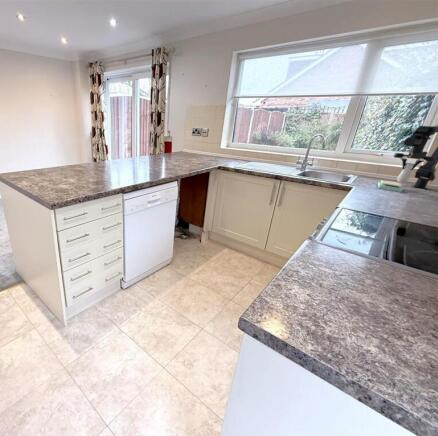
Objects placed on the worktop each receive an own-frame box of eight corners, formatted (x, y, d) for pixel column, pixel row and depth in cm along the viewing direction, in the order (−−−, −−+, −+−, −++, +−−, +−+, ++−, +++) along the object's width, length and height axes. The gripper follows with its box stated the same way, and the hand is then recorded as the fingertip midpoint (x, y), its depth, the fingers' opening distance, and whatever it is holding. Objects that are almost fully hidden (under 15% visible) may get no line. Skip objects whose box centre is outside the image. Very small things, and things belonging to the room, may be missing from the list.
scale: (377, 184, 182) (379, 180, 180) (399, 187, 175) (401, 183, 174) (378, 188, 171) (380, 184, 170) (401, 192, 165) (404, 187, 163)
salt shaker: (409, 183, 168) (418, 164, 163) (399, 182, 169) (408, 163, 164) (403, 181, 174) (412, 162, 168) (393, 180, 175) (402, 162, 169)
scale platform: (380, 181, 180) (381, 180, 179) (399, 184, 174) (399, 182, 174) (381, 184, 172) (382, 183, 171) (401, 187, 166) (401, 186, 166)
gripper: (401, 145, 161) (390, 169, 167) (442, 149, 151) (428, 174, 157) (398, 144, 169) (388, 166, 175) (437, 147, 159) (425, 171, 165)
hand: (407, 169), depth 168 cm, fingers closed on salt shaker, 4 cm apart
